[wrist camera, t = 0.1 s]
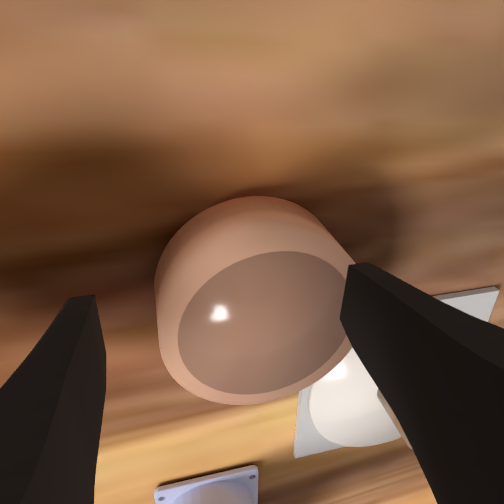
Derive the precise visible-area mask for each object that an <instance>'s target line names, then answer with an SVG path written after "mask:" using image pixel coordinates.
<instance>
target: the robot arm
mask: <svg viewBox="0 0 504 504" xmlns="http://www.w3.org/2000/svg"><path fill="white" fill-rule="evenodd" d="M339 319H340V321H341V323H342V326H343V328H344V330H345V333H346V335H347V337H348V339H349V341H350V343H351V346H352V348H353V349H354V351H355V352H356V354H357V356H358V357H359V359H360V360H361V362H362V364H363V365H364V367H365V368H366V370H367V372H368V373H369V375H370V376H371V378H372V379H373V381H374V382H375V384H376V386H377V387H378V389H379V390H380V392H381V393H382V395H383V397H384V398H385V400H386V401H387V403H388V404H389V406H390V407H391V409H392V411H393V413H394V414H395V416H396V418H397V419H398V421H399V423H400V425H401V427H402V429H403V431H404V433H405V435H406V437H407V439H408V441H409V443H410V445H411V447H412V449H413V451H414V453H415V455H416V457H417V459H418V461H419V464H420V466H421V468H422V470H423V472H424V474H425V476H426V479H427V481H428V483H429V485H430V487H431V490H432V492H433V494H434V497H435V499H436V501H437V503H438V504H504V329H503V328H501V327H498V326H496V325H493V324H491V323H488V322H486V321H483V320H481V319H479V318H476V317H474V316H472V315H469V314H467V313H465V312H463V311H461V310H459V309H457V308H454V307H452V306H450V305H448V304H446V303H444V302H442V301H440V300H438V299H436V298H434V297H432V296H430V295H428V294H426V293H425V292H423V291H421V290H419V289H417V288H415V287H413V286H412V285H410V284H408V283H406V282H404V281H402V280H401V279H399V278H397V277H395V276H393V275H391V274H389V273H388V272H386V271H384V270H382V269H380V268H378V267H376V266H374V265H371V264H369V263H360V264H351V265H348V271H347V277H346V283H345V289H344V295H343V301H342V306H341V312H340V318H339ZM105 393H106V350H105V345H104V340H103V335H102V330H101V325H100V320H99V315H98V310H97V305H96V300H95V295H89V296H80V297H72V298H69V299H68V300H67V301H66V302H65V304H64V305H63V307H62V309H61V310H60V312H59V313H58V315H57V316H56V318H55V319H54V320H53V322H52V323H51V325H50V326H49V328H48V329H47V331H46V332H45V333H44V335H43V336H42V337H41V339H40V340H39V341H38V343H37V344H36V345H35V347H34V348H33V349H32V351H31V352H30V353H29V355H28V356H27V357H26V359H25V360H24V361H23V362H22V363H21V365H20V366H19V367H18V368H17V369H16V371H15V372H14V373H13V374H12V375H11V377H10V378H9V379H8V380H7V381H6V383H5V384H4V385H3V386H2V387H1V388H0V504H94V485H95V473H96V463H97V456H98V448H99V440H100V432H101V425H102V417H103V409H104V401H105ZM258 473H259V471H258V468H257V466H256V465H250V466H246V467H242V468H237V469H233V470H229V471H224V472H220V473H216V474H211V475H207V476H203V477H199V478H194V479H190V480H186V481H181V482H177V483H173V484H168V485H164V486H160V487H157V488H156V489H155V490H154V498H155V503H156V504H258Z"/></svg>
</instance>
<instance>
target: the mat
mask: <svg viewBox="0 0 504 504" xmlns="http://www.w3.org/2000/svg"><path fill="white" fill-rule="evenodd" d="M499 291H500V290H498V289H497V288H496V287H495V286H493V287H487V288H481V289H475V290H468V291H462V292H456V293H450V294H443V295H437V296H432V297H434V298H436V299H438V300H440V301H442V302H444V303H446V304H448V305H450V306H452V307H454V308H457V309H459V310H461V311H463V312H465V313H467V314H469V315H472V316H474V317H476V318H479V319H481V320H483V321H486V322H488V320H489V317H490V314H491V312H492V309H493V306H494V304H495V301H496V299H497V296H498V293H499ZM310 386H311V385H310ZM310 386H308V387H307V388H305V389H303V390H301V391H299V396H298V407H297V417H296V428H295V438H294V449H293V454H294V457H295V458H299V457H303V456H308V455H312V454H316V453H321V452H325V451H329V450H333V449H338V448H342V447H346V446H344V445H339V444H336V443H334V442H331V441H329V440H328V439H326V438H324V437H323V436H322V435H321V434H320V433H319V432H318V430H317V429H316V427H315V425H314V423H313V420H312V418H311V416H310V413H309V409H308V394H309V389H310Z"/></svg>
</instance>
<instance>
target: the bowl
mask: <svg viewBox="0 0 504 504" xmlns="http://www.w3.org/2000/svg"><path fill="white" fill-rule="evenodd" d="M351 264H356V263H355V262H354V261H353V260H352V258H351V257H350V256H349V255H348V254H347V253H346V251H345V250H344V249H343V248H342V247H341V246H340V244H339V243H338V242H337V241H336V240H335V239H334V237H333V236H332V235H331V234H330V233H329V231H328V230H327V229H326V228H325V227H324V226H323V224H322V223H321V222H320V221H319V220H318V219H317V218H316V217H315V216H314V215H313V214H312V213H310V212H309V211H308V210H307V209H305V208H303V207H301V206H300V205H298V204H295V203H293V202H290V201H288V200H285V199H280V198H276V197H268V196H248V197H241V198H235V199H232V200H228V201H225V202H222V203H219V204H217V205H214V206H212V207H210V208H208V209H206V210H204V211H203V212H201V213H199V214H197V215H196V216H195V217H193V218H192V219H191V220H189V221H188V222H187V223H186V224H185V225H183V226H182V227H181V228H180V229H179V230H178V231H177V232H176V234H175V235H174V236H173V237H172V238H171V240H170V241H169V242H168V244H167V246H166V247H165V249H164V251H163V253H162V255H161V257H160V259H159V262H158V265H157V269H156V272H155V280H154V291H155V303H156V314H157V325H158V336H159V347H160V352H161V356H162V359H163V362H164V364H165V366H166V368H167V370H168V371H169V373H170V374H171V376H172V377H173V378H174V379H175V380H176V381H177V382H178V383H179V384H180V385H181V386H182V387H184V388H185V389H186V390H187V391H189V392H191V393H193V394H195V395H196V396H199V397H201V398H204V399H206V400H209V401H213V402H217V403H223V404H231V405H248V404H258V403H265V402H269V401H273V400H277V399H281V398H283V397H286V396H289V395H292V394H294V393H296V392H299V391H301V390H303V389H305V388H307V387H308V386H310V385H312V384H314V383H315V382H317V381H318V380H320V379H321V378H323V377H324V376H325V375H326V374H328V373H329V372H330V371H332V370H333V369H334V368H335V367H336V366H337V365H338V364H339V363H340V362H341V361H342V360H343V359H344V357H345V356H346V355H347V354H348V353H349V351H350V350H351V348H352V346H351V343H350V341H349V339H348V337H347V335H346V333H345V330H344V328H343V326H342V323H341V321H340V319H339V318H340V312H341V306H342V301H343V295H344V289H345V283H346V277H347V271H348V265H351Z"/></svg>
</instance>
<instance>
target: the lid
mask: <svg viewBox="0 0 504 504" xmlns="http://www.w3.org/2000/svg"><path fill="white" fill-rule="evenodd" d="M308 409H309V413H310V416H311V418H312V420H313V423H314V425H315V427H316V429H317V430H318V432H319V433H320V434H321V435H322V436H323V437H324V438H326V439H328V440H329V441H331V442H334V443H336V444H339V445H344V446H351V447H365V446H373V445H378V444H383V443H386V442H390V441H393V440H396V439H398V438H401V437H402V438H403V439H404V441H405V443H406V444H407V446H408V447H409V448H410V449H412V447H411V445H410V443H409V441H408V439H407V437H406V435H405V433H404V431H403V429H402V427H401V425H400V423H399V421H398V419H397V418H396V416H395V414H394V413H393V411H392V409H391V407H390V406H389V404H388V403H387V401H386V400H385V398H384V397H383V395H382V393H381V392H380V390H379V389H378V387H377V386H376V384H375V382H374V381H373V379H372V378H371V376H370V375H369V373H368V372H367V370H366V368H365V367H364V365H363V364H362V362H361V360H360V359H359V357H358V356H357V354H356V352H355V351H354V349H353V348H351V350H350V351H349V353H348V354H347V355H346V356H345V357H344V359H343V360H342V361H341V362H340V363H339V364H338V365H337V366H336V367H335V368H334V369H333V370H332V371H330V372H329V373H328V374H326V375H325V376H324V377H323V378H321V379H320V380H318V381H317V382H315V383H314V384H312V385H311V386H310V389H309V394H308ZM412 450H413V449H412Z"/></svg>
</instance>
